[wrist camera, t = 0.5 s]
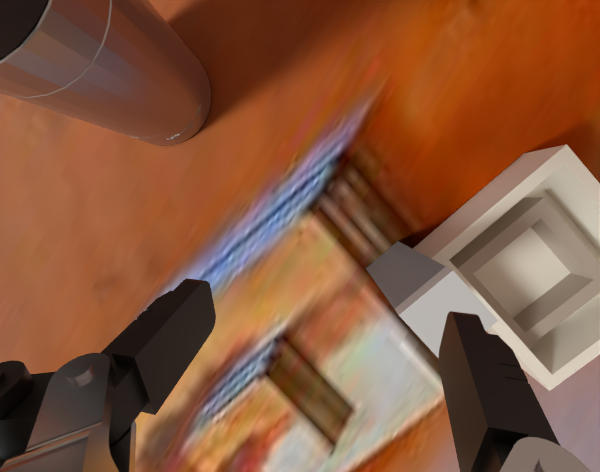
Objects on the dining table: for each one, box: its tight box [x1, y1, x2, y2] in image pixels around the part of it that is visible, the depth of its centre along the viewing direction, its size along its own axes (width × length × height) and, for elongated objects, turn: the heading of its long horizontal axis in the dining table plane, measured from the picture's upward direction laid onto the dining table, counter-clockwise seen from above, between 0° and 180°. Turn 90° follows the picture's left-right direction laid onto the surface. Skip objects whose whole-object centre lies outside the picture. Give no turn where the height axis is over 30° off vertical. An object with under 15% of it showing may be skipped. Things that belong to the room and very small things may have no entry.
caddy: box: [413, 144, 600, 391], centre depth 27 cm, size 15×13×5 cm
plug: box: [366, 241, 498, 358], centre depth 24 cm, size 4×4×12 cm
